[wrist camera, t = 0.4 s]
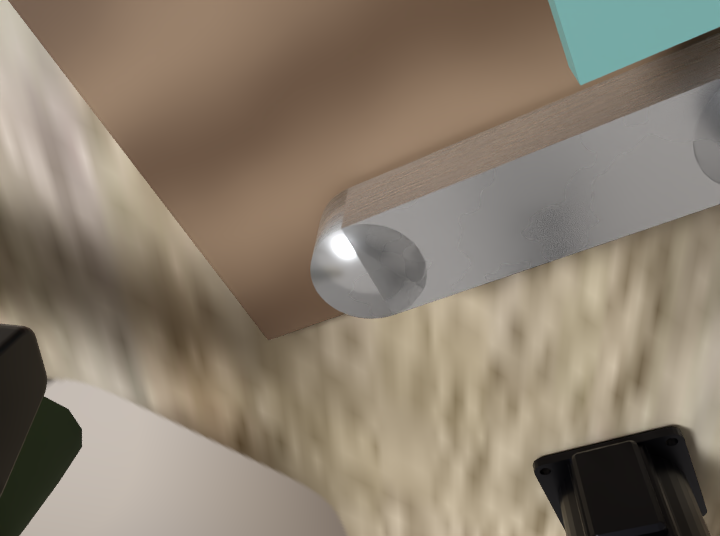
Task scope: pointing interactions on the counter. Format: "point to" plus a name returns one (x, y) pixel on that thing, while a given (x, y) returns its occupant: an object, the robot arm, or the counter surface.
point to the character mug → (39, 465)
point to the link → (528, 189)
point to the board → (295, 109)
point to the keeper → (626, 30)
